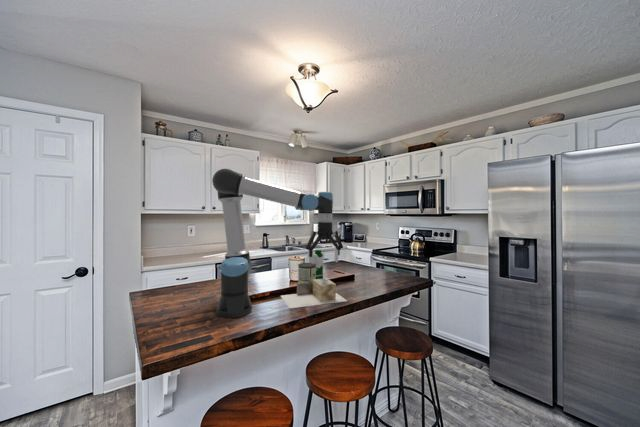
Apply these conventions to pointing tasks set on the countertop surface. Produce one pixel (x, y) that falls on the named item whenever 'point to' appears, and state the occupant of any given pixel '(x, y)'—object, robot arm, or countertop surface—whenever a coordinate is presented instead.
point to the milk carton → (318, 263)
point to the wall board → (307, 300)
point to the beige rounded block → (324, 289)
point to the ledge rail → (305, 288)
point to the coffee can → (306, 273)
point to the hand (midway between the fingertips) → (324, 262)
